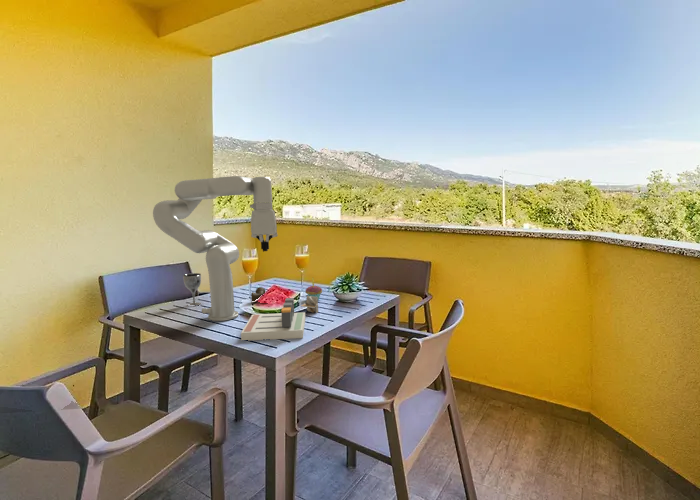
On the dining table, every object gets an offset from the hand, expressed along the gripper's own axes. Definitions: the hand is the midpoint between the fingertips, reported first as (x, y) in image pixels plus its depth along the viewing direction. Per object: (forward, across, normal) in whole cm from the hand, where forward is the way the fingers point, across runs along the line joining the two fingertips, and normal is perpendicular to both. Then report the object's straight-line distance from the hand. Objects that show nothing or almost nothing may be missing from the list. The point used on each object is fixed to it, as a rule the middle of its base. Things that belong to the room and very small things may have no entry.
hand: (265, 251), depth 156 cm
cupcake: (+29, +19, +28) cm, 45 cm away
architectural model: (+30, +18, +6) cm, 36 cm away
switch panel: (+29, +5, -15) cm, 33 cm away
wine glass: (+29, -40, +27) cm, 56 cm away
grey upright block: (+26, +10, -22) cm, 35 cm away
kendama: (+30, -8, +31) cm, 43 cm away
